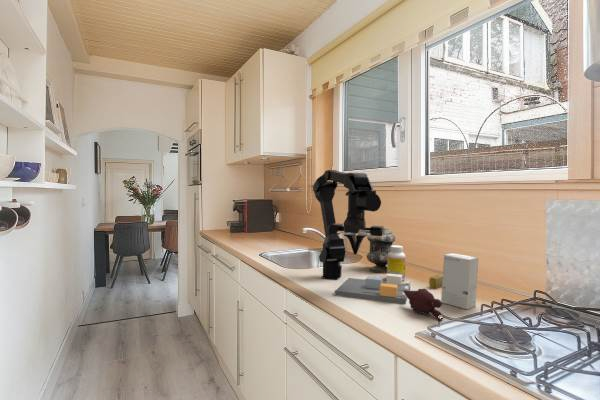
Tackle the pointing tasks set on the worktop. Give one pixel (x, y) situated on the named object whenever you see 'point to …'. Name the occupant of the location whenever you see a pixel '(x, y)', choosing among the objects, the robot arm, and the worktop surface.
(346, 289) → the panel
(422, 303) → the beetroot
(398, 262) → the supplement bottle
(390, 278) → the slider white
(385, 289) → the slider orange
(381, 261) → the apothecary jar
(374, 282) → the slider blue
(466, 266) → the skincare box
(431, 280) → the medication box
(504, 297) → the worktop surface
